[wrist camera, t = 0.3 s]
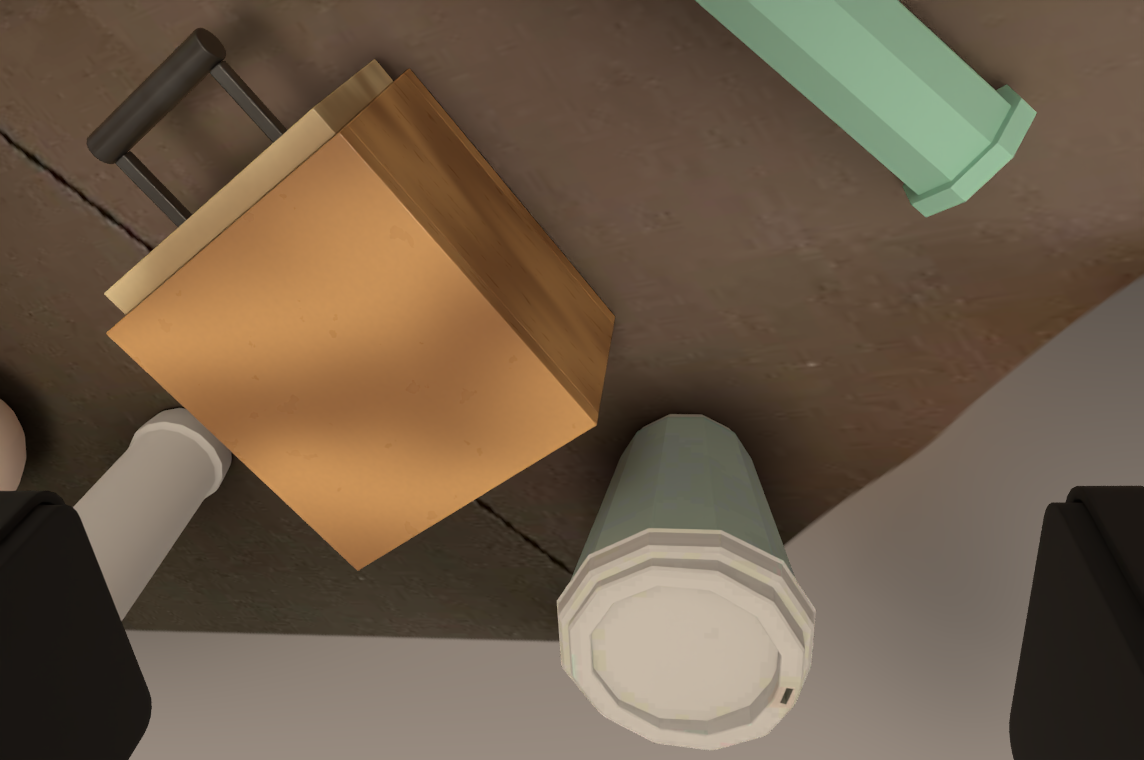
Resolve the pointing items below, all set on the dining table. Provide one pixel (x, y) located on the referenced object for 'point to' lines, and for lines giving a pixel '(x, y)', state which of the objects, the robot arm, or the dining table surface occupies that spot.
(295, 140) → the drawer
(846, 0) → the container
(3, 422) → the egg
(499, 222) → the cabinet
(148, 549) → the bottle
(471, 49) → the dining table surface
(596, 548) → the disposable coffee cup
